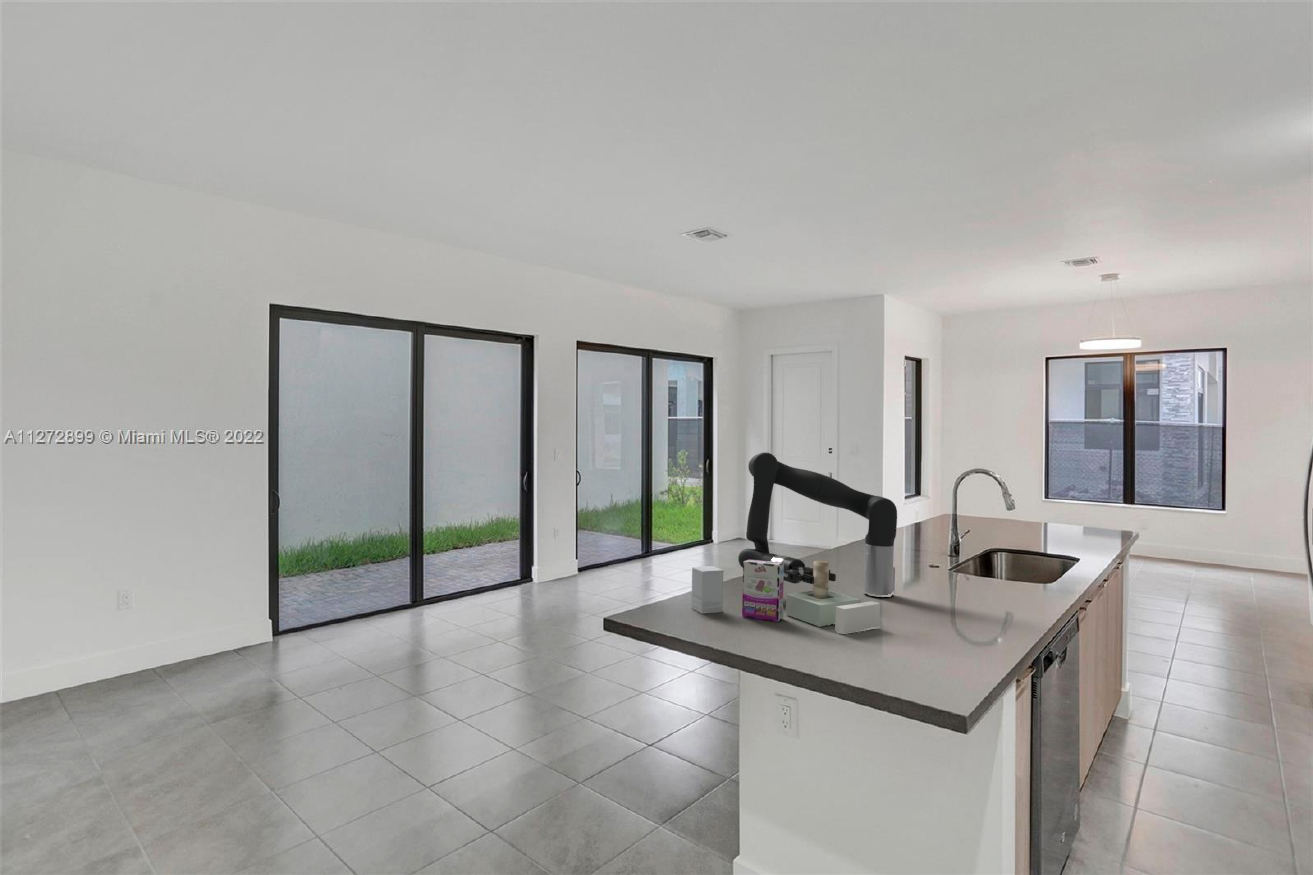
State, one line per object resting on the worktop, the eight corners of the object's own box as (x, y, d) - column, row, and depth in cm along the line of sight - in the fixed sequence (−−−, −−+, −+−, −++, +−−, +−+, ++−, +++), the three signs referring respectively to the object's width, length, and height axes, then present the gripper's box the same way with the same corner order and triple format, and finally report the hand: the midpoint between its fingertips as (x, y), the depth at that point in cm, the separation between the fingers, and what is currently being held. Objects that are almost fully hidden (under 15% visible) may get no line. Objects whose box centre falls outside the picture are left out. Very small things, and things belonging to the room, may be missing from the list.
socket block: (825, 608, 207) (826, 589, 207) (860, 619, 195) (860, 599, 195) (785, 614, 199) (786, 594, 199) (819, 626, 187) (820, 605, 187)
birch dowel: (820, 606, 201) (821, 560, 201) (831, 610, 197) (832, 562, 197) (809, 608, 199) (810, 561, 199) (819, 612, 195) (821, 563, 195)
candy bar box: (783, 618, 196) (785, 562, 196) (778, 622, 191) (779, 565, 191) (747, 613, 201) (748, 558, 201) (741, 616, 196) (742, 560, 196)
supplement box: (723, 612, 201) (724, 570, 201) (700, 614, 198) (702, 571, 198) (712, 606, 208) (713, 565, 208) (690, 608, 205) (691, 566, 205)
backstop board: (871, 625, 190) (871, 601, 190) (879, 628, 188) (880, 603, 188) (835, 632, 183) (835, 606, 183) (843, 635, 181) (844, 609, 181)
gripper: (769, 558, 207) (806, 568, 193) (804, 555, 214) (842, 564, 200) (769, 582, 207) (805, 594, 193) (803, 578, 215) (841, 589, 201)
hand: (824, 579), depth 197 cm, fingers open, 8 cm apart
